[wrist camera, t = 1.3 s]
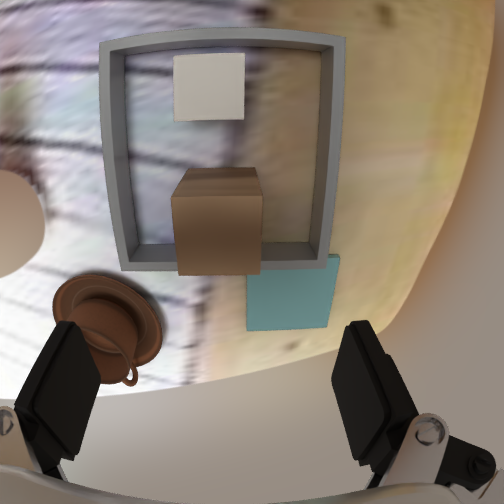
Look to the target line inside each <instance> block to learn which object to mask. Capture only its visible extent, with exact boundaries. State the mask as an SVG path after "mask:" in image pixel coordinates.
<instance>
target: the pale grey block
mask: <svg viewBox="0 0 504 504" xmlns="http://www.w3.org/2000/svg"><path fill="white" fill-rule="evenodd" d="M244 79H245V53H210V54H191V55H178V56H174V57H173V97H174V122H176V121H194V120H229V119H244Z"/></svg>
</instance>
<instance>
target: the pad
mask: <svg viewBox="0 0 504 504" xmlns="http://www.w3.org/2000/svg"><path fill="white" fill-rule="evenodd" d="M339 261H340V257H339V255H338V254H336V255H328V259H327V266H326V269H298V270H260V275H247V321H246V328H247V331H267V330H291V329H309V328H324V327H327V323H328V319H329V314H330V309H331V304H332V299H333V294H334V289H335V284H336V278H337V273H338V267H339Z"/></svg>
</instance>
